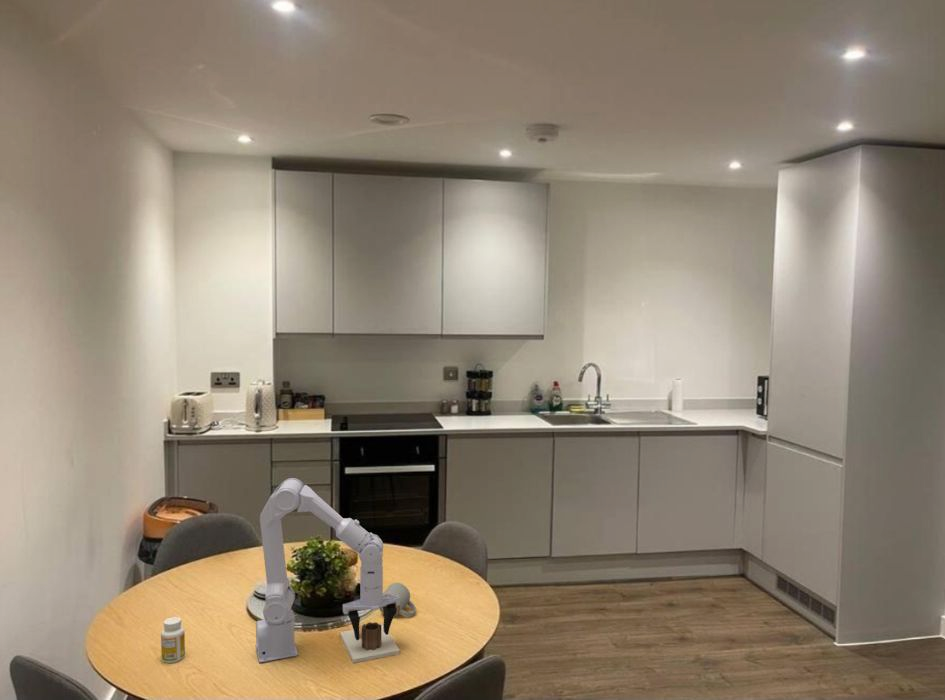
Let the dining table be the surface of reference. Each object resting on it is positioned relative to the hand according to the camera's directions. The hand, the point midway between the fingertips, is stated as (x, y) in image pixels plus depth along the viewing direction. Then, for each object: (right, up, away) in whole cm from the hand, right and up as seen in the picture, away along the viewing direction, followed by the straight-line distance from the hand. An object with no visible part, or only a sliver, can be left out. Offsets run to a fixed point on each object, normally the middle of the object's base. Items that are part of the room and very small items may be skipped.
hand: (371, 635), depth 177 cm
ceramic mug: (+5, -2, +21) cm, 22 cm away
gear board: (-1, -3, +3) cm, 4 cm away
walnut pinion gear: (0, -3, 0) cm, 3 cm away
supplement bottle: (-49, -4, -5) cm, 49 cm away
